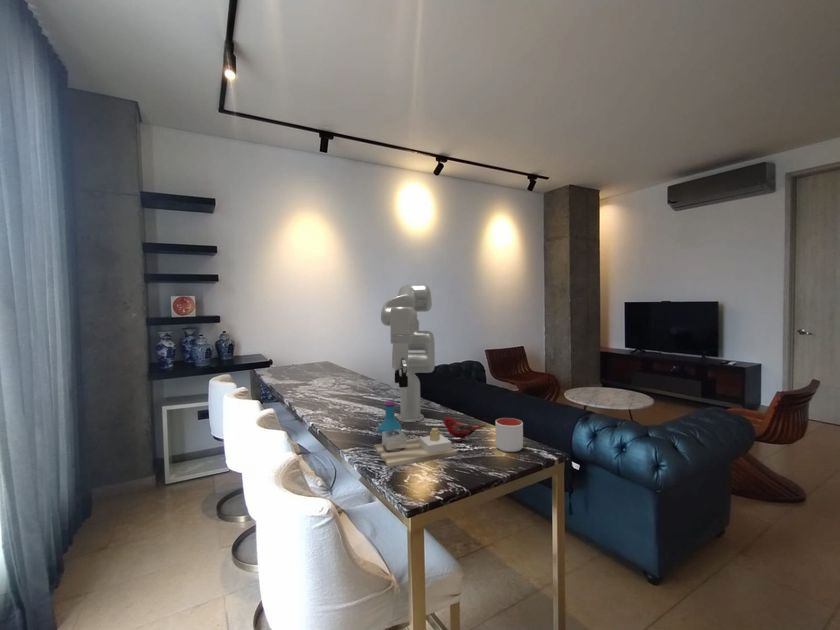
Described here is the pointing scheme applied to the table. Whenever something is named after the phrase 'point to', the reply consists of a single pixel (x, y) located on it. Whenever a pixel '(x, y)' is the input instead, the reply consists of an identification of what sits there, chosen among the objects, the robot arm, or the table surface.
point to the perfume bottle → (389, 418)
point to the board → (410, 454)
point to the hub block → (434, 442)
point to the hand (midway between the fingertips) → (401, 384)
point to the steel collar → (393, 439)
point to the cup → (509, 434)
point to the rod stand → (393, 449)
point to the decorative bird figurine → (459, 428)
